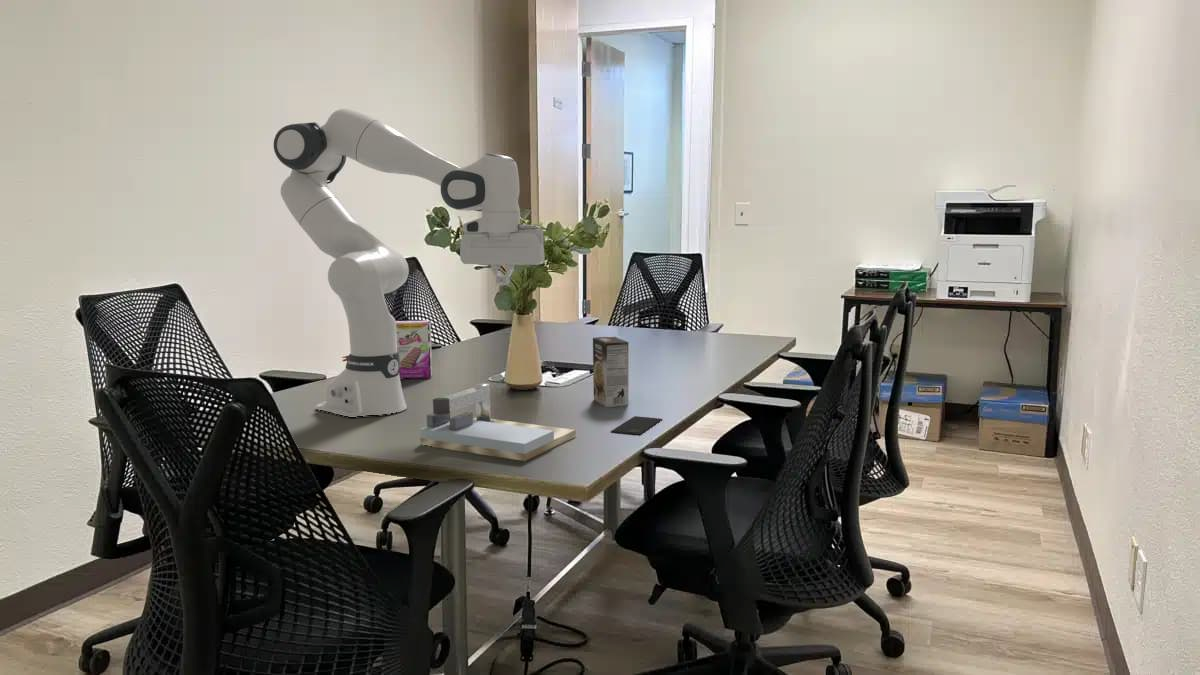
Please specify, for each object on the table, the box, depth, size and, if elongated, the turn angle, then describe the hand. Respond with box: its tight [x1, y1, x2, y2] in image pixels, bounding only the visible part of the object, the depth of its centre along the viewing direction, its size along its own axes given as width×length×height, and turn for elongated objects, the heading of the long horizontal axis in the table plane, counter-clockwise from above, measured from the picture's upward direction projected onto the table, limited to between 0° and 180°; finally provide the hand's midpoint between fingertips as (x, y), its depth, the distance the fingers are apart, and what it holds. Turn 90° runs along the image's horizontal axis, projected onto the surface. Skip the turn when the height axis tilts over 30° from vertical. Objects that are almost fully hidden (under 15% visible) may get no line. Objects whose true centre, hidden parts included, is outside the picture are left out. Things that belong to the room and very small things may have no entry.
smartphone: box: [610, 415, 663, 437], centre depth 200 cm, size 7×1×15 cm
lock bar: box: [432, 382, 492, 422], centre depth 191 cm, size 18×3×8 cm, turn 151°
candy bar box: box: [395, 320, 433, 380], centre depth 255 cm, size 11×5×16 cm, turn 97°
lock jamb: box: [419, 411, 577, 462], centre depth 188 cm, size 26×20×6 cm
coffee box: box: [592, 336, 630, 408], centre depth 221 cm, size 9×6×16 cm
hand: (503, 283), depth 209 cm, fingers closed
